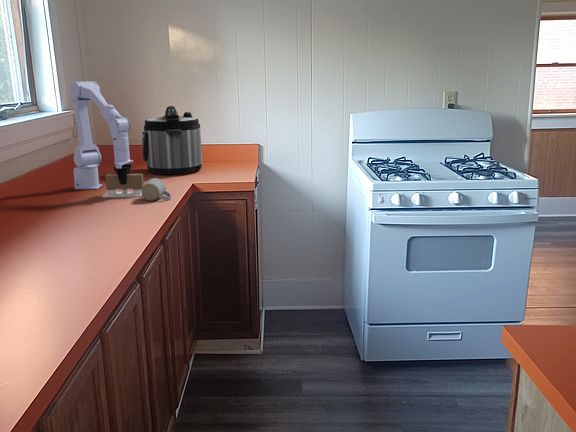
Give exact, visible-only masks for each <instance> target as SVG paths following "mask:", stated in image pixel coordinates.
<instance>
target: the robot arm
mask: <svg viewBox="0 0 576 432" xmlns="http://www.w3.org/2000/svg"><path fill="white" fill-rule="evenodd" d="M68 88H69V96H70V101H71V103H73V109H74V117H75V123H76V130H77V137H78V143H79V144H78V145H77V146H76V147H75V148H74V149H73V161H74V165H76V166H77V167H74V168H73V180H74V190H98V189H99V188H101V187H102V186H103V184H101V183H100V180H99V179H100V177H99V171H98V170H99V166H100V164H101V162H102V154H101V152H100V150H99V147H98V146H97V145H96V144H95V143H93V137H92V136H93V135H92V131H91V130H92V129H91V125H90V124H91V122H90V116H89V115H90V114H89V109H88V105H89V103H91V102H93V103H94V105H96V107H98V108H99V110H100V112H99V113H100V115H101V116H102V118H103V119H104V120H105V122H106V123H107V124H108V129H109V132H110V136H111V139H112V144H113V155H114V164H115V166H114V167H113V170H114V172H115V174H117V176H118V179H119V182H120V184H121V185H125V184H126V182H127V174H130V171H131V168H132V166H133V165H132V163H133V162H134V160H133V159H131V158H130V146H129V145H130V144H129V132H130V130H131V128H132V127H131V122H130V120H129V118H128V117H127V116H125V117H124V116H123V115H121V114H120V112H119V111H117V109H116V108H115V106H114V105H113V104H109V103H108V102H107V101H106V100H105V98H104V96H103V94H101V87H100V86H99V84H98V82H96V81H95V80H92V81H77V80H75V81H72V82H71V84H70V86H69V87H68Z"/></svg>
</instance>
